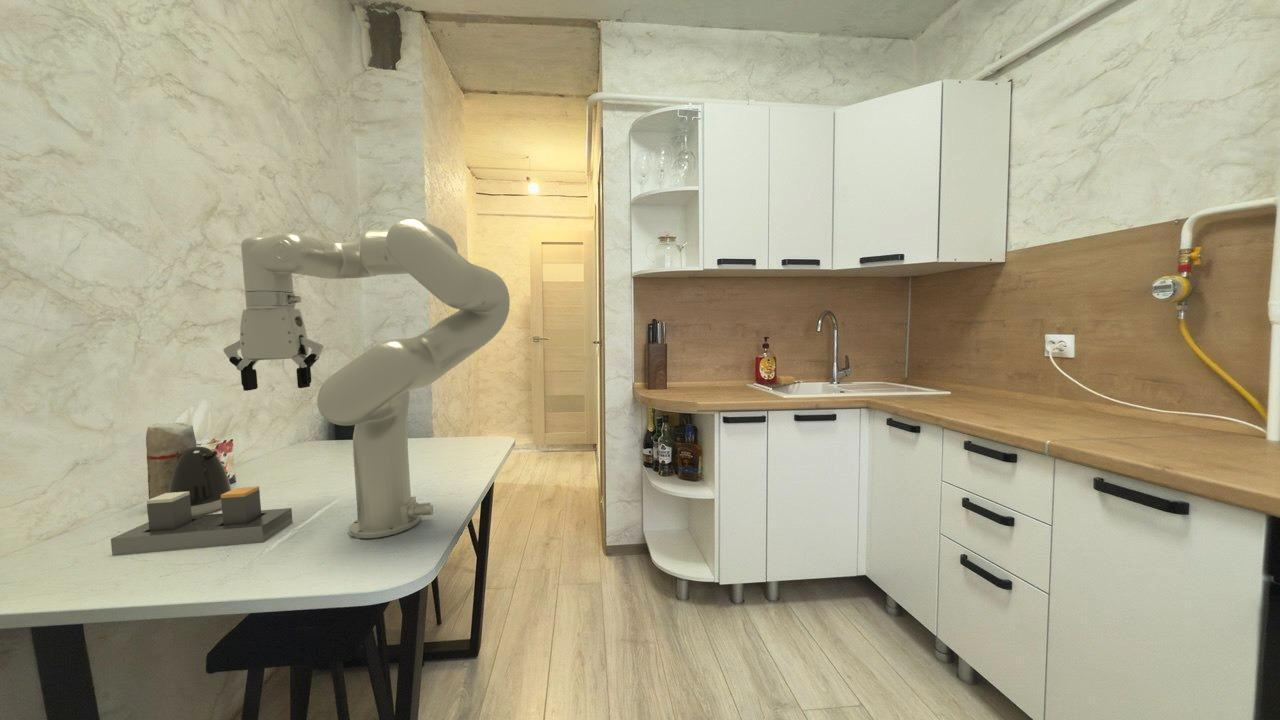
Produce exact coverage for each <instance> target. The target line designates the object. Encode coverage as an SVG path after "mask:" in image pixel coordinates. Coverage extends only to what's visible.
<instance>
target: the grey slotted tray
mask: <svg viewBox="0 0 1280 720" xmlns="http://www.w3.org/2000/svg"><path fill="white" fill-rule="evenodd" d="M292 511H293V510H292V507H287V508H286V507H285V508H273V509H261V515H262V516H261V517H260V518H258V519H256V520H255V521H253V522H251V523H249V524H241V525H229V526H223V516H222V512H221V513H207V514H203V515H196V516H192V522H190V523H188V524H186V525H184V526H182V527H180V528H178V529H176V530H168V531H156V532H150V531H149V521H147V522H145V523H144V524H141V525H138V526H136V527H133V528H131V529H130V530H127V531H125V532H123V533H120V534H119V535H116V536H113V537H112V538H110V545H111V555H112V556H124V555H125V556H126V555H134V554H137V555H138V554H147V553H158V552H159V553H161V552H167V551H168V552H170V551H171V552H172V551H181V550H192V549H206V548H215V547H216V548H217V547H225V546H236V545H250V544H260V543H264V542H265V543H266V541H268V540H269V539H271V538H272V537H274V536H276V535H277V534H279V533H280V532H281V531H282V530H284V529H286V528H287V527H288V526H290V525H292V524H293V513H292Z"/></svg>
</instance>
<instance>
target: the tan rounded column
mask: <svg viewBox="0 0 1280 720" xmlns="http://www.w3.org/2000/svg"><path fill="white" fill-rule="evenodd" d="M145 446H146V465H147V485H148V487H147V488H148V489H147V490H148V500H149V499H152V498H154V497H157V496H159V495H162V494H165V493H168V489H169V483H170V479H171V476H172V472H173V469H174V467H175V464H176V462H177V460H178V459H179V457H180V456H181V454H182V453H183V452H185V451H186V450H188V449H190V448H193V447H197V439H196V435H195V431H194V426H193V425H192V424H190V423H186V422H170V423H169V422H168V423H151V424H149V426H148V427H147V430H146V437H145Z"/></svg>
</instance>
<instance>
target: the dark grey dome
mask: <svg viewBox="0 0 1280 720" xmlns="http://www.w3.org/2000/svg"><path fill="white" fill-rule="evenodd" d="M217 455H218V451H217V450H212V449H210V448H208V447H206V446H196V447H193V448H190V449H188V450H186V451H185V452H183V453H182V454H181V456H180V457H179V459H178V460H177V462H176V464H175V467H174V469H173V472H172V476H171V479H170V483H169V489H168V493H174V492H188V491H189V493H190V503H191V514H192V516H196V515H208V514H212V513H214V512H216V511H219V510H222V505H221V495H222V494H224V493H226V492H228V491H231V490H232V487H231V483H230V480H229V475H228V474H227V471H226V470H225V467H224V465H223V464H222V462H221V460H220V459H219V457H218V456H217Z"/></svg>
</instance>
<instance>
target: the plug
mask: <svg viewBox="0 0 1280 720" xmlns="http://www.w3.org/2000/svg"><path fill="white" fill-rule="evenodd" d="M260 493H261V492H260V486H258V485H257V486H244V487H234V488H233V489H231V491H228V492H226V493H224V494H222V495H221V505H222V509H221V513H222V516H223V526H229V525H241V524H249V523H251V522H253V521H255V520H256V519H258V518H260V517H261V516H262V515H261V510H262V503H261V494H260Z"/></svg>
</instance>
